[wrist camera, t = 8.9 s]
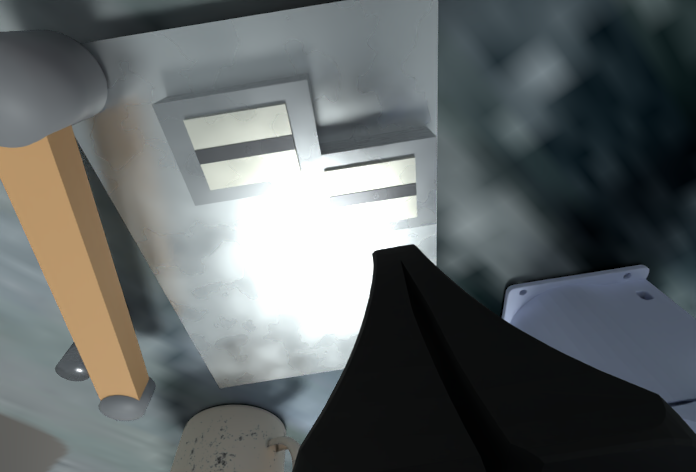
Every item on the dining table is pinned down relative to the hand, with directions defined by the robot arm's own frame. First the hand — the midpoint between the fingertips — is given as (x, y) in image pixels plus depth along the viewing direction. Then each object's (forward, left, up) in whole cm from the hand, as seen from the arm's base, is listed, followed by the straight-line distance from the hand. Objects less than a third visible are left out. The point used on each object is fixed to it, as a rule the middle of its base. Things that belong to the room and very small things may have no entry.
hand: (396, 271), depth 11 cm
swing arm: (+14, +2, -7) cm, 15 cm away
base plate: (+7, +4, -8) cm, 11 cm away
